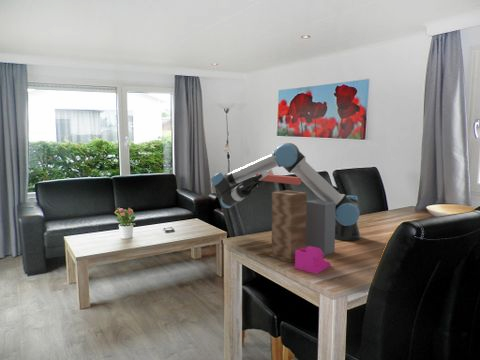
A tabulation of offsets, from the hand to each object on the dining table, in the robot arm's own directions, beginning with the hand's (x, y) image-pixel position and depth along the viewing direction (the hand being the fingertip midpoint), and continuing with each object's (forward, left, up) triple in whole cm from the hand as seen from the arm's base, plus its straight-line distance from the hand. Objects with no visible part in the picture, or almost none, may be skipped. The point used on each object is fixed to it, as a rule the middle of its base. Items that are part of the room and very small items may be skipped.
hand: (269, 172), depth 190 cm
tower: (-12, +9, -38) cm, 41 cm away
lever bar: (-5, +3, -4) cm, 7 cm away
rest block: (-24, -3, -38) cm, 45 cm away
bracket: (-24, +20, -38) cm, 50 cm away
